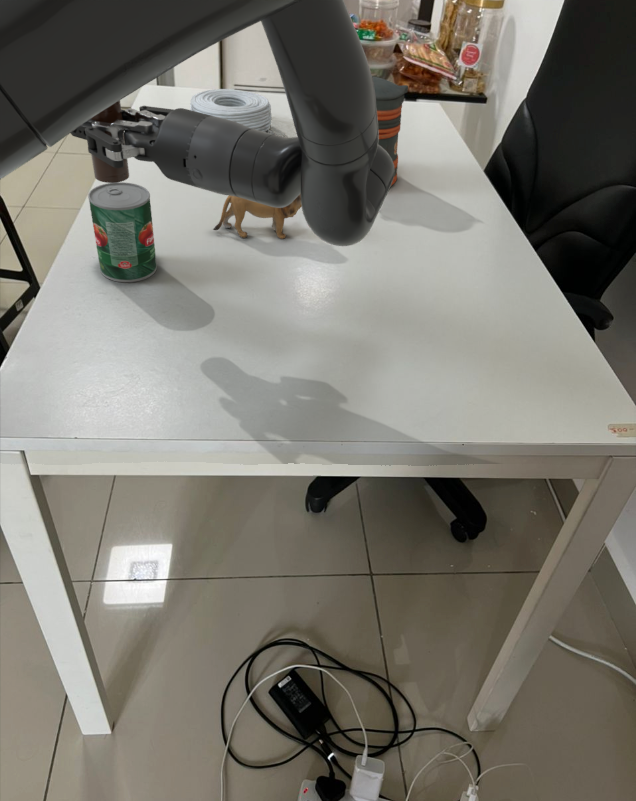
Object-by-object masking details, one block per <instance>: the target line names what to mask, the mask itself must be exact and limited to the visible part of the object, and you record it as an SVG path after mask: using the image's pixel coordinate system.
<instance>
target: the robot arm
mask: <svg viewBox="0 0 636 801" xmlns="http://www.w3.org/2000/svg"><path fill="white" fill-rule="evenodd" d="M260 22H261V25H262V28H263V30H264V33H265V36H266V39H267V41H268V44H269V47H270V50H271V53H272V55H273V59H274V61H275V64H276V66H277V67H276V68H277V69H278V73H279V77H280V79H281V83H282V86H283V90H284V93H285V96H286V100H287V103H288V107H289V110H290V115H291V118H292V121H293V126H294V129H295V132H296V136H293V137H291V136H290V137H286V136H282V135H279V134H275V133H274V134H275V135H274V134H271V133H267V132H263V131H259V130H255V129H252V128H249V127H246V126H244V125H242V124H240V123H237V122H234V121H231V120H227V119H223V118H219V117H215V116H211V115H207V114H203V113H199V112H196V111H192V110H190V109H188V108H182V107H179V108H175V109H172V108H164V107H157V106H150V105H140V106H139V110H137V109H134V108H131V107H129V108H126V109H122V108H121V112H122V120H116V121H115V122H113V123H105V122H99V121H96V120H92V119H91V118H92V117H94V116H95V115H97V114H98V113H100V112H102V111H103V110H105V109H106V108H108V107H110V106H111V105H113V104H115V103H116V102H118V101H119V100H120V101H122V100H123V99H124V98H126V97H128V96H129V95H131V94H132V93H134V92H136V91H137V90H140V88H142V87H145V86H146V85H147V84H149V83H150V82H152V81H154V80H155V79H158V78H159V77H160V76H163V75H164V74H166V73H167V72H170V70H172V69H174V68H175V67H177V66H178V65H180V64H182V63H184V62H185V61H187V60H188V59H190V58H192V57H193V56H195V55H197V54H199V53H200V52H203V51H204V50H206V49H208V48H210V47H212V46H213V45H215V44H217V43H220V42H222V41H224V40H225V39H228V38H229V37H232V36H233V35H235V34H238V33H239V32H241V31H243V30H245V29H247V28H249V27H251V26H254V25H256V24H257V23H260ZM372 76H373V75H372V71H371V68H370V64H369V61H368V57H367V54H366V53H365V49H364V48H363V45H362V42H361V39H360V36H359V34H358V32H357V28H356V27H355V25H354V22H353V20H352V17H351V15H350V13H349V10H348V6H347V5H346V3H345V0H0V181H1V180H2V179H4V178H5V177H7V176H9V175H10V174H12V173H13V172H15V171H16V170H18V169H20V168H21V167H22V166H24V165H25V164H28V162H30V161H32V160H33V159H35V158H36V157H38V156H40V155H41V154H43V153H44V152H46V151H47V150H48V147H49V148H52V147H53V146H54V145H57V143H58V142H60V141H61V140H63V139H64V138H66V137H68V135H71V136H72V137H74V138H78V139H82V140H85V141H86V142H87V152H88V154H90V155H91V154H92V155H94V156H95V157H97V158H99V159H101V160H102V161H104V162H106V163H107V164H109V165H111V166H112V167H114V168H122V167H124V160H123V159H127V160H128V159H131V158H134V159H135V160H138V161H140V162H141V161H142V162H147V163H154V164H155V165H156V166H157V168H158V169H159V170H160V172H161V173H162V175H163V176H164V177H165V178H167V179H169V180H171V181H174V182H177V183H181V184H184V185H186V186H187V185H188V186H191V187H194V188H198V189H201V190H204V191H208V192H211V193H215V194H218V195H221V196H222V195H223V196H236V197H240V198H243V199H246V200H250V201H253V202H257V203H260V204H264V205H267V206H271V207H276V208H283V207H286V206H288V205H289V204H291V203H292V202H293V201H294V200H295V199H296V198H297V197H298V195H299V194H300V193H301V205H302V207H301V211H302V214H303V217H304V220H305V222H306V224H307V225H308V227H309V228H310V230H311V231H312V232H313V234H314V235H315V236H317V237H318V238H319V239H320V240H321V241H324V242H325V243H327V244H329V245H331V246H335V247H349V246H353V245H356V244H358V243H360V242H361V241H362V240H364V239H365V237H366V236H368V235H369V233H370V231H371V229H372V227H373V225H374V223H375V221H376V219H377V216H378V214H379V212H380V210H381V207H382V205H383V203H384V201H385V199H386V196H387V195H388V193H389V191H390V189H391V187H392V186H391V184H392V182H393V178H394V174H395V169H394V164H393V161H392V158H391V157H390V155H389V154H388V153H387V151H386V150H385V149H383V148H382V147H381V146H380V145H379V144H378V141H379V128H378V117H377V107H376V96H375V89H374V84H373V78H372ZM122 129H124V139H125V145H124V140H123V132H122ZM105 131H109V132H111V134H112V137H111V136H109V135H107V134H106V133H105Z"/></svg>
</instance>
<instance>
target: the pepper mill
mask: <svg viewBox="0 0 636 801" xmlns="http://www.w3.org/2000/svg"><path fill="white" fill-rule="evenodd" d="M121 109H122V103H121V100H119V101H118V102H116V103H115V104H113V105H111V106H110V107H108V108H106V109H105V110H103V111H102V112H100V113H98V114H97V115H95V116H94V117H92V118H91V119H92V120H96V121H99V122H105V123H113V122H115V121H116V120H122V112H121ZM122 132H123V140H124V145H125V139H124V129H122ZM105 133H106V134H107V135H109V136H111V137H112V134H111V132H109V131H105ZM90 156H91V162H92V168H93V175H94V178H95V179H96V180H97V181H99V182H101V183H105V184H108V183H117V182H125V181H126V180H128V179H129V178H130V170H129V160H128V158H127V159H123V160H124V167H122V168H114V167H112V166H111V165H109V164H107V163H106V162H104V161H102V160H101V159H99V158H97V157H95V156H94V155H92V154H90Z"/></svg>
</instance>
